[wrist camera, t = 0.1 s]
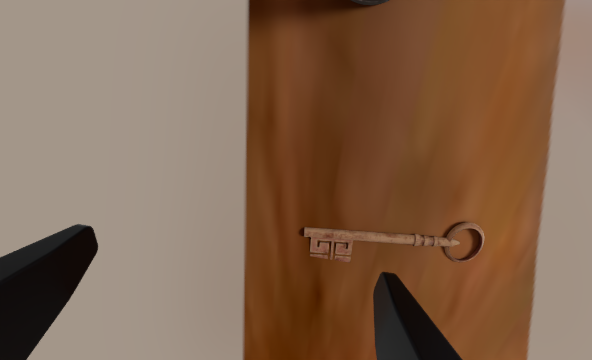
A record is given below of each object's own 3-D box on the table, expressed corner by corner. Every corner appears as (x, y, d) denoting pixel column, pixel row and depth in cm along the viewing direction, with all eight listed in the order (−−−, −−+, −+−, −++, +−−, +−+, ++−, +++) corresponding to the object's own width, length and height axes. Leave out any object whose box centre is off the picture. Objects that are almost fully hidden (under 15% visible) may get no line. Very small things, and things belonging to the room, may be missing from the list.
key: (302, 264, 28) (468, 277, 27) (301, 271, 27) (473, 284, 26) (306, 208, 26) (486, 221, 25) (305, 214, 25) (492, 227, 24)
